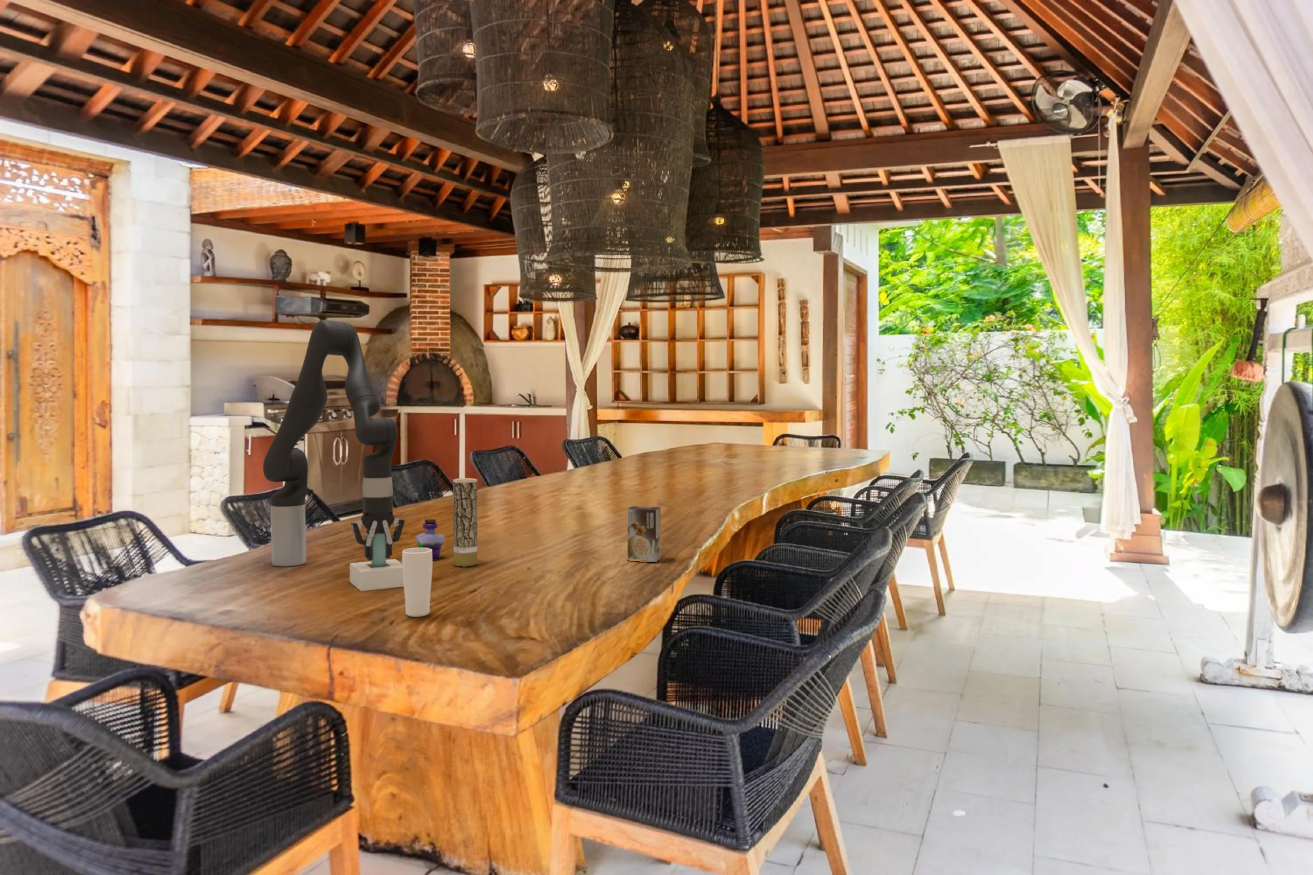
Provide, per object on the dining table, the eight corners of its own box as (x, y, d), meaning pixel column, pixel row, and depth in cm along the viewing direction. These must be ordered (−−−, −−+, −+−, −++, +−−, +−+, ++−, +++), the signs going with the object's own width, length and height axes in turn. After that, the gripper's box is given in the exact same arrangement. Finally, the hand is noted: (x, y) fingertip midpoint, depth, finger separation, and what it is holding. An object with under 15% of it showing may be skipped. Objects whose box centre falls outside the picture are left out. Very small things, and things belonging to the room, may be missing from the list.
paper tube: (471, 568, 260) (471, 481, 259) (449, 566, 262) (449, 480, 260) (481, 563, 267) (480, 478, 265) (459, 562, 268) (459, 477, 267)
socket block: (349, 581, 242) (349, 563, 241) (395, 577, 248) (395, 558, 247) (360, 591, 231) (360, 571, 231) (407, 585, 238) (407, 567, 237)
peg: (370, 577, 240) (369, 532, 239) (383, 576, 242) (383, 531, 241) (373, 580, 237) (373, 534, 236) (387, 578, 239) (387, 533, 238)
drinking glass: (405, 610, 213) (404, 547, 212) (434, 610, 213) (434, 547, 212) (399, 618, 206) (399, 553, 205) (430, 618, 207) (429, 552, 206)
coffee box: (661, 559, 276) (662, 506, 274) (656, 563, 269) (656, 509, 268) (632, 557, 278) (632, 505, 277) (626, 561, 271) (626, 508, 270)
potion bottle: (409, 559, 271) (409, 519, 270) (427, 554, 279) (427, 515, 278) (433, 562, 268) (433, 522, 267) (451, 557, 276) (450, 517, 275)
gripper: (400, 491, 245) (401, 553, 246) (346, 494, 238) (347, 559, 239) (408, 494, 238) (409, 558, 240) (353, 497, 231) (353, 564, 232)
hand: (378, 558), depth 239 cm, fingers open, 4 cm apart
